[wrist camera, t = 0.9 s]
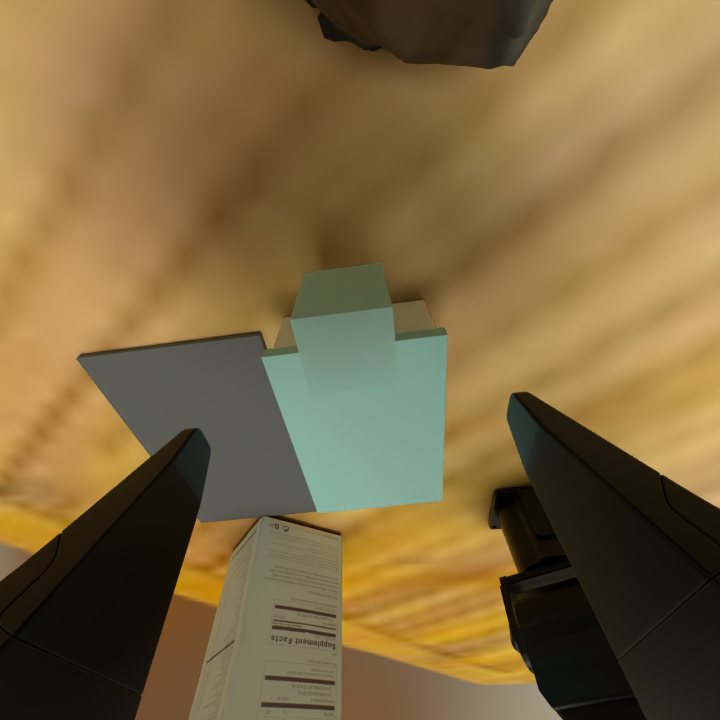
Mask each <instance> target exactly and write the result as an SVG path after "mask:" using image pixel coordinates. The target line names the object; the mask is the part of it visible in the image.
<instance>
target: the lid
mask: <svg viewBox="0 0 720 720" xmlns="http://www.w3.org/2000/svg"><path fill="white" fill-rule="evenodd" d="M290 323H291V326H292V330H293V333H294V337H295V340H296V344H297V346H290V347H282V348H274V349H266V350H264V351H263V354H262V357H261V358H262V361H263V364H264V366H265V369H266V372H267V375H268V377H269V380H270V383H271V386H272V389H273V391H274V394H275V397H276V400H277V402H278V405H279V408H280V411H281V413H282V416H283V419H284V422H285V424H286V427H287V430H288V433H289V435H290V438H291V441H292V444H293V446H294V449H295V452H296V455H297V457H298V460H299V463H300V466H301V468H302V471H303V474H304V477H305V479H306V482H307V485H308V488H309V490H310V493H311V496H312V499H313V501H314V504H315V507H316V510H317V512H318V513H325V512H336V511H346V510H356V509H366V508H376V507H386V506H396V505H406V504H417V503H427V502H437V501H442V490H443V460H444V430H445V401H446V371H447V341H448V334H447V332H446V330H445V328H437V329H428V330H420V331H412V332H404V333H396V334H395V331H394V318H393V306H392V302H391V298H390V294H389V290H388V286H387V282H386V278H385V274H384V271H383V267H382V263H373V264H366V265H358V266H351V267H343V268H336V269H328V270H321V271H313V272H306V273H304V275H303V278H302V281H301V284H300V288H299V291H298V294H297V298H296V301H295V304H294V307H293V311H292V314H291V317H290Z"/></svg>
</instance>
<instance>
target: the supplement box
mask: <svg viewBox="0 0 720 720" xmlns="http://www.w3.org/2000/svg"><path fill="white" fill-rule="evenodd" d="M341 651H342V536H339V535H335V534H332V533H328V532H324V531H320V530H316V529H312V528H309V527H305V526H301V525H297V524H293V523H289V522H286V521H282V520H278V519H274V518H270V517H267V516H262V517H261V519H260V520H259V521H258V522H257V523H256V525H255V526H254V527H253V528H252V529H251V531H250V532H249V533H248V534H247V536H246V537H245V538H244V539H243V540H242V542H241V543H240V544H239V545H238V547H237V548H236V549H235V550H234V551H233V553H232V555H231V558H230V562H229V566H228V570H227V574H226V578H225V581H224V585H223V589H222V593H221V597H220V601H219V605H218V608H217V613H216V616H215V621H214V624H213V628H212V632H211V636H210V640H209V644H208V648H207V652H206V656H205V660H204V663H203V667H202V671H201V675H200V679H199V683H198V686H197V690H196V694H195V698H194V701H193V705H192V709H191V713H190V717H189V720H341V676H342V674H341V672H342V671H341V670H342V667H341V665H342V662H341V661H342V652H341Z"/></svg>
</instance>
